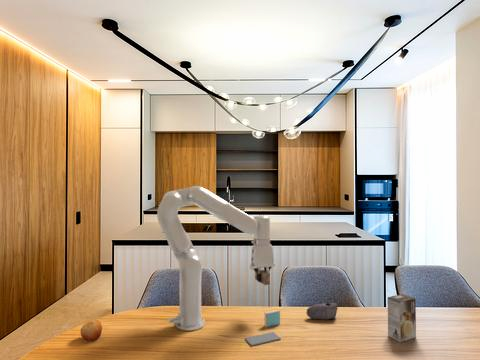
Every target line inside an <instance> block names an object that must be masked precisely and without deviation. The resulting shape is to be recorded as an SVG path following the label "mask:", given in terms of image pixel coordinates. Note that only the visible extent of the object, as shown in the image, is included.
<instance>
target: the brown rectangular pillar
mask: <svg viewBox="0 0 480 360" xmlns="http://www.w3.org/2000/svg"><path fill="white" fill-rule="evenodd" d="M260 274H261V284H263V285H264V286H268V285H270V284H271V283H270V282H271V279H270V272H269V273H268V272H266V271H264V269H262V268H261V269H260ZM254 276H255V277H254V279H255V280H256V281H257V273H256V272H255V271H254Z"/></svg>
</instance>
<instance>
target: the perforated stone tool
mask: <svg viewBox="0 0 480 360" xmlns="http://www.w3.org/2000/svg"><path fill="white" fill-rule="evenodd" d="M337 312H338V304H337V303H336V302H328V303H327V302H324V303H318V304H313V305H312V306H309V307H308V308H307V309H306V315H307V317H308V318H310V319H313V320H330V319H336V316H337Z"/></svg>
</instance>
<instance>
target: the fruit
mask: <svg viewBox="0 0 480 360" xmlns="http://www.w3.org/2000/svg"><path fill="white" fill-rule="evenodd" d="M102 330H103V325H102V323H101V321H100V320H97V319H91V320H88V321H86V322H85V323H84V324H83V325H82V326H81V328H80V336H81V337H82V339H83V340H84V341H93V342H94V341H96V340H98V339H99V338H101V335H102Z"/></svg>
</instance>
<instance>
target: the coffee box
mask: <svg viewBox="0 0 480 360" xmlns="http://www.w3.org/2000/svg"><path fill="white" fill-rule="evenodd" d="M416 300H417V299H416V298H415V297H412V296H410V295H407V294H403V293H402V294H401V293H400V294H397V295H396V294H395V295H392V296H388V297H387V336H388V337H390V338H391V339H393V340H396V341H397V342H400V343H402V342H406V341H409V340H412V339H415V338H417V321H416V320H417V316H416V314H417V313H416V311H417V310H416V309H417V306H416V304H417V302H416Z"/></svg>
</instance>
